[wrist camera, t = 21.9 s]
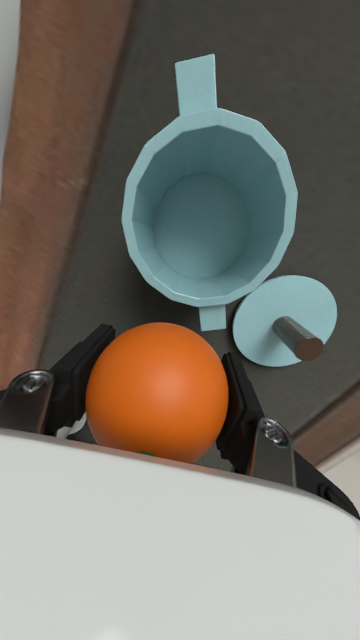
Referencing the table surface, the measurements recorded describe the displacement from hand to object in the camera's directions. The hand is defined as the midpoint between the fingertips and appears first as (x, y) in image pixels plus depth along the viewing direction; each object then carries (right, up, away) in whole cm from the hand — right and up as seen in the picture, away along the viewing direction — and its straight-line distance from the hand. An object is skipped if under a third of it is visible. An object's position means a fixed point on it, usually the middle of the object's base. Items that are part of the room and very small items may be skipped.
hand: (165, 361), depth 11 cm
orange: (0, 0, +1) cm, 1 cm away
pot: (+3, +13, +12) cm, 18 cm away
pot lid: (+15, +2, +15) cm, 21 cm away
